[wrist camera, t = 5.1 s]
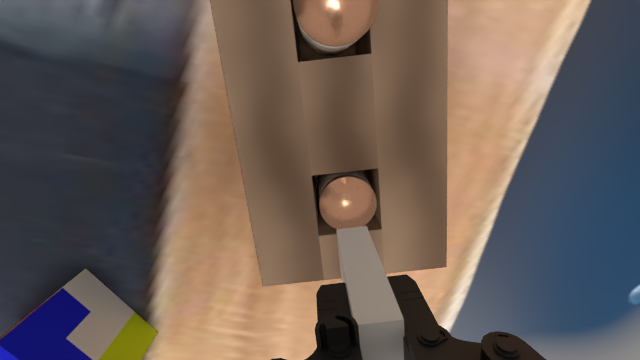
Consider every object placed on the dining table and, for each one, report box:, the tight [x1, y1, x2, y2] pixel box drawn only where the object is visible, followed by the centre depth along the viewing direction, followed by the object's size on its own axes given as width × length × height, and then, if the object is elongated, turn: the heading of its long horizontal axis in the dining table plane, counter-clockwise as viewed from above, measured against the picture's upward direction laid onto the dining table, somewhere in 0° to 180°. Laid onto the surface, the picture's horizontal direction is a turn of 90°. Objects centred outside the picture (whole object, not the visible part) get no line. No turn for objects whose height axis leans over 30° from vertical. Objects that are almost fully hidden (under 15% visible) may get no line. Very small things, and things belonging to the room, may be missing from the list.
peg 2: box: [318, 170, 377, 229], centre depth 27 cm, size 4×4×8 cm
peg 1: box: [293, 0, 380, 55], centre depth 19 cm, size 4×4×8 cm
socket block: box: [210, 0, 448, 286], centre depth 26 cm, size 14×24×8 cm, turn 6°
